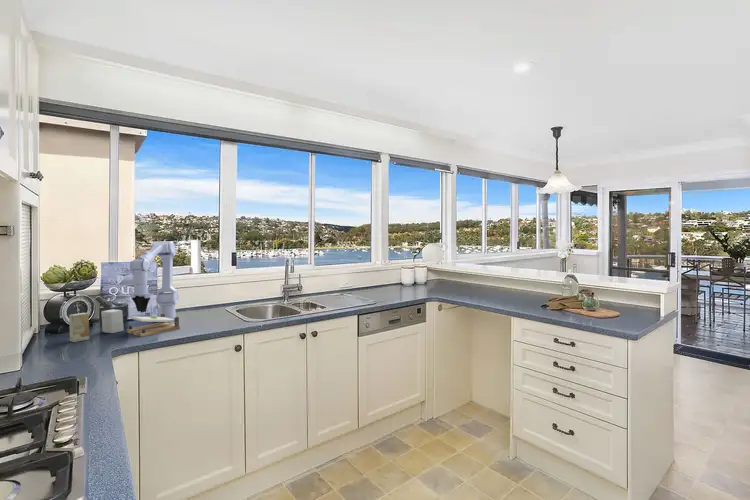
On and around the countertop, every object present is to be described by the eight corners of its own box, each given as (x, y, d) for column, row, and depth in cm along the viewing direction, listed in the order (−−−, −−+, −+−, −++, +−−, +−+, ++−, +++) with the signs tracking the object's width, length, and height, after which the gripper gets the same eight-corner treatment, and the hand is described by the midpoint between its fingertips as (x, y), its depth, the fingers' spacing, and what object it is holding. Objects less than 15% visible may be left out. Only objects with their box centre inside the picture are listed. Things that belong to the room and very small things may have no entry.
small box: (123, 330, 190) (122, 310, 189) (112, 333, 185) (111, 312, 184) (113, 329, 193) (112, 309, 193) (102, 332, 188) (101, 311, 188)
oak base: (126, 332, 187) (126, 320, 186) (164, 324, 201) (163, 313, 201) (141, 336, 177) (140, 324, 177) (179, 328, 192) (179, 316, 192)
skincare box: (73, 342, 170) (72, 315, 169) (69, 341, 172) (68, 314, 172) (90, 339, 175) (88, 312, 175) (86, 337, 178) (84, 312, 177)
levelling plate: (130, 318, 186) (131, 313, 187) (164, 319, 200) (165, 314, 200) (141, 321, 179) (142, 316, 179) (176, 322, 192) (177, 317, 193)
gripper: (124, 283, 185) (126, 311, 186) (138, 285, 177) (139, 314, 177) (140, 282, 191) (141, 309, 191) (154, 284, 182) (155, 312, 183)
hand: (141, 311), depth 185 cm, fingers open, 3 cm apart
